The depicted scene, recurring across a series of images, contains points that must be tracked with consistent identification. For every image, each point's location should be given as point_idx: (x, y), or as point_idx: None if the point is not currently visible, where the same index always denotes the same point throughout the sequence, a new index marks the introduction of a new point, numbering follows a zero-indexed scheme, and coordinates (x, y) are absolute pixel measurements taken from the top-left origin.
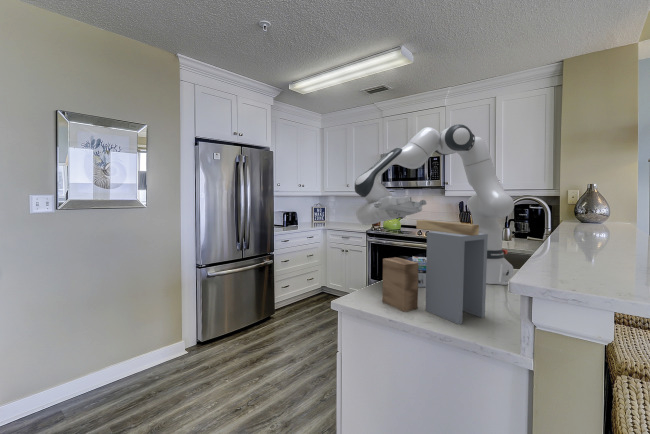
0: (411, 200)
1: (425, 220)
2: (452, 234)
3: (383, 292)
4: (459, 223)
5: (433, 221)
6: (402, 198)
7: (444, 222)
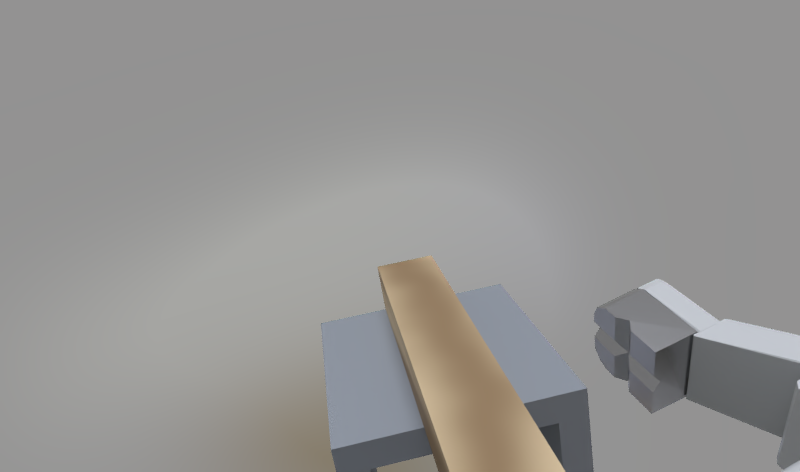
0: (599, 343)
1: (493, 461)
2: (495, 318)
3: None
4: (408, 302)
5: (480, 387)
6: (770, 340)
7: (451, 336)
